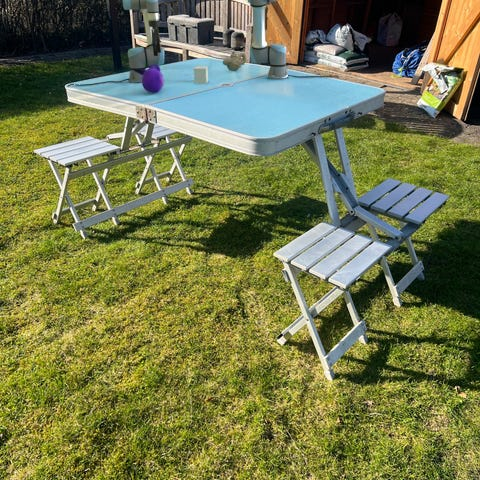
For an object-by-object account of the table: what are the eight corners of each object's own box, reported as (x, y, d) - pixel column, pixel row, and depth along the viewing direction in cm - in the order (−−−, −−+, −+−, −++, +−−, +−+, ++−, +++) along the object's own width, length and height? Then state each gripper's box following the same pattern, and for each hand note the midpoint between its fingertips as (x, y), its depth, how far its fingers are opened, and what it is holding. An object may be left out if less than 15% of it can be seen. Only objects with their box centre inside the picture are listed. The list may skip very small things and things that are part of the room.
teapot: (226, 73, 360) (225, 53, 353) (219, 71, 369) (219, 51, 361) (249, 70, 370) (249, 50, 362) (242, 68, 378) (241, 49, 371)
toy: (156, 85, 322) (164, 98, 301) (131, 81, 314) (137, 93, 294) (160, 63, 314) (168, 74, 293) (135, 58, 306) (141, 69, 286)
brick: (206, 83, 326) (205, 68, 321) (194, 83, 327) (193, 68, 321) (208, 81, 334) (207, 66, 328) (196, 81, 334) (195, 66, 329)
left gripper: (156, 21, 286) (160, 57, 297) (162, 18, 308) (165, 51, 319) (145, 22, 287) (149, 57, 298) (151, 18, 308) (154, 51, 319)
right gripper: (270, -1, 338) (270, 30, 349) (270, -2, 359) (269, 27, 370) (260, -1, 338) (260, 30, 349) (260, -2, 360) (260, 27, 370)
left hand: (157, 54), depth 308 cm, fingers open, 13 cm apart
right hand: (265, 29), depth 360 cm, fingers open, 13 cm apart
